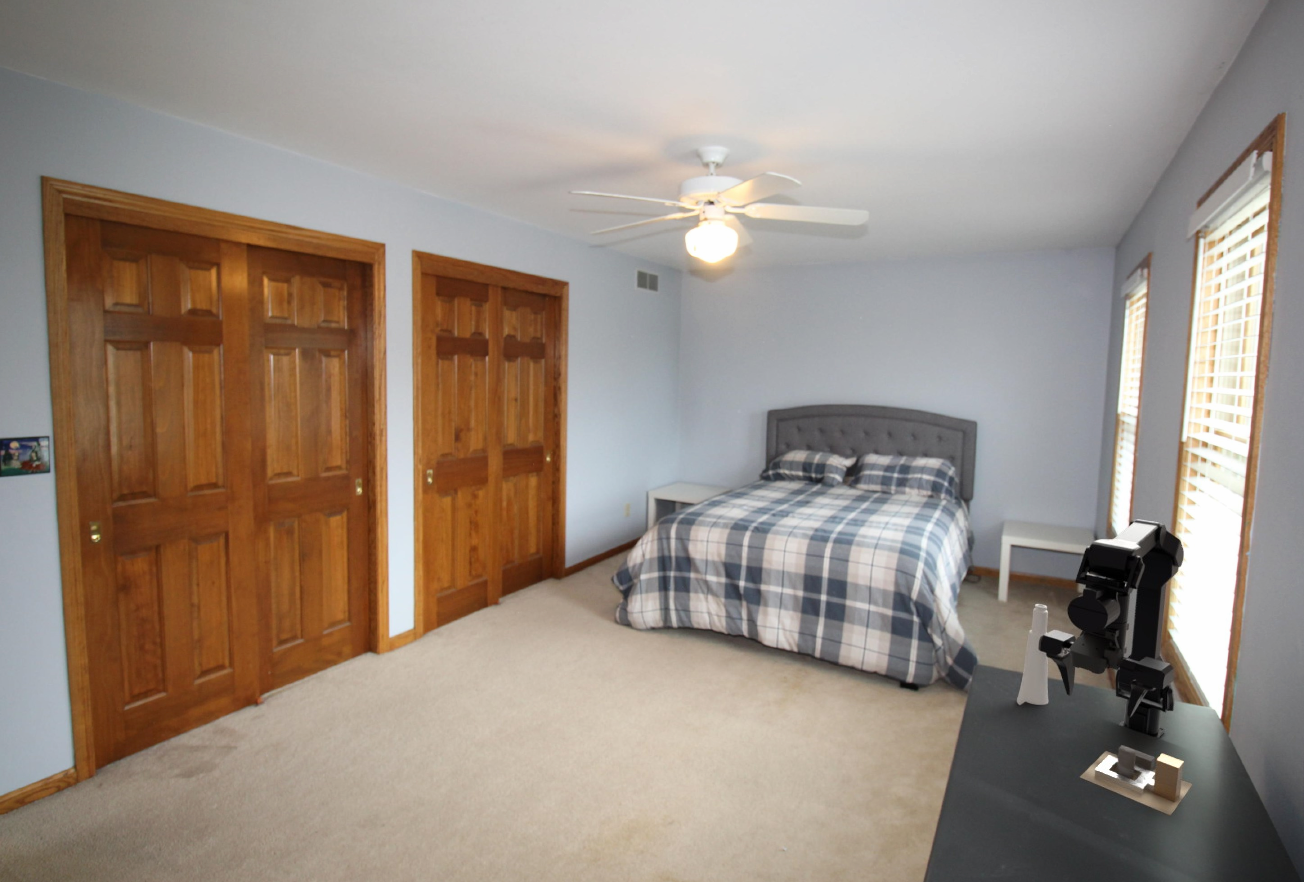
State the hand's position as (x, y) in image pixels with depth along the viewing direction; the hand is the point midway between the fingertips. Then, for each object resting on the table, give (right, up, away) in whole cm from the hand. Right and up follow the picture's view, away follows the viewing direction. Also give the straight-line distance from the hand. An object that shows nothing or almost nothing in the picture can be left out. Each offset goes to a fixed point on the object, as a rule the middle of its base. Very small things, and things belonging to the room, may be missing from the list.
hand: (1098, 705), depth 119 cm
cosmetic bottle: (+5, -11, +30) cm, 32 cm away
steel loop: (+7, -13, 0) cm, 15 cm away
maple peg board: (+7, -15, +1) cm, 16 cm away
